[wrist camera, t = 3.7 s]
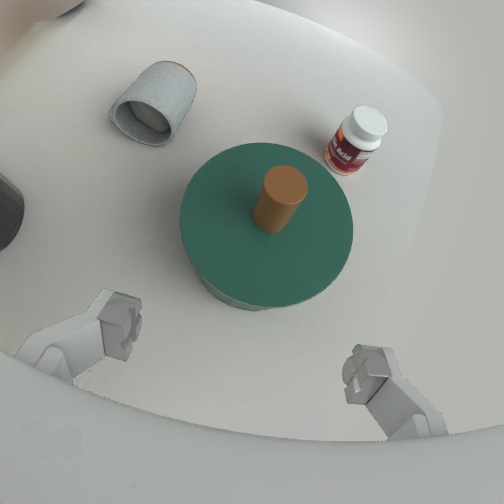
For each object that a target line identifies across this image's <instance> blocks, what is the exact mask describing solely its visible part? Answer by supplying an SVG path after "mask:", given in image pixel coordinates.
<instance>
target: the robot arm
mask: <svg viewBox="0 0 504 504" xmlns="http://www.w3.org/2000/svg"><path fill="white" fill-rule="evenodd" d="M141 308H142V301H141V299H139V298H136V297H132V296H129V295H126V294H123V293H119V292H115V291H112V290H109V289H106V288H103V289H101V291H100V292H99V293H98V295H97V296H96V297H95V299H94V300H93V301H92V303H91V304H90V306H89V307H88V308H87V310H86V311H85V313H84V314H81V313H80V314H77V315H75V316H72V317H70V318H68V319H65V320H63V321H61V322H58V323H56V324H54V325H51V326H49V327H46V328H44V329H42V330H39V331H37V332H35V333H32V334H30V335H29V336H28V338H27V339H26V340H25V342H24V343H23V345H22V346H21V347H20V349H19V350H18V351H17V353H16V354H15V356H14V357H13V356H12V355H10V354H8V353H6V352H4V351H3V350H1V349H0V504H504V425H498V426H493V427H488V428H484V429H479V430H474V431H469V432H463V433H457V434H452V435H449V434H448V431H447V428H446V425H445V422H444V419H443V416H442V413H441V412H440V411H439V410H438V409H437V408H436V407H435V406H434V405H433V404H432V403H431V402H430V401H429V400H428V399H427V398H426V397H425V396H424V395H423V394H422V393H421V392H420V391H419V390H418V389H417V388H416V387H415V386H414V385H412V384H411V383H410V382H409V381H408V380H407V379H406V378H403V377H402V374H401V371H400V368H399V365H398V363H397V360H396V357H395V354H394V352H393V350H392V349H391V348H386V347H376V346H368V345H360V344H358V345H356V346H355V347H354V349H353V350H352V352H353V356H351V357H349V358H347V360H346V362H345V363H344V366H343V370H342V378H343V382H344V383H345V384H346V385H347V387H346V389H345V395H346V401H347V403H348V404H361V405H366V408H367V409H368V410H369V412H370V413H371V414H372V416H373V417H374V419H375V420H376V421H377V423H378V424H379V426H380V427H381V428H382V430H383V431H384V432H385V434H386V435H387V437H388V439H387V440H386V441H363V442H362V441H361V442H347V441H345V442H343V441H316V440H300V439H288V438H278V437H269V436H261V435H254V434H247V433H240V432H234V431H229V430H223V429H218V428H212V427H208V426H203V425H198V424H194V423H189V422H185V421H181V420H177V419H173V418H169V417H165V416H161V415H158V414H154V413H151V412H147V411H144V410H141V409H137V408H134V407H131V406H128V405H125V404H122V403H119V402H116V401H113V400H110V399H107V398H105V397H102V396H99V395H97V394H94V393H91V392H89V391H86V390H84V389H81V388H79V387H76V386H74V384H73V381H72V379H73V378H74V377H76V376H77V375H79V374H80V373H82V372H83V371H85V370H86V369H88V368H89V367H91V366H92V365H94V364H95V363H97V362H98V361H100V360H101V359H103V358H104V357H105V355H106V356H109V357H112V358H115V359H119V360H122V361H125V362H127V359H128V357H129V355H130V353H131V351H132V342H134V341H136V340H137V338H138V336H139V333H140V329H141V323H142V316H141V315H140V313H139V312H140V310H141Z"/></svg>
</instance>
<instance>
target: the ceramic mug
mask: <svg viewBox="0 0 504 504" xmlns="http://www.w3.org/2000/svg"><path fill="white" fill-rule="evenodd" d="M196 90H197V85H196V80H195V78H194V76H193V75H192V73H191V72H190V71H189V70H188V69H187V68H185V67H184V66H182V65H181V64H178V63H176V62H172V61H160V62H157V63H154V64H153V65H151V66H150V67H148V68H147V69H146V70H145V71H143V72H142V73H141V75H140V76H139V77H138V78H137V79H136V81H135V82H134V83H133V84H132V85H131V86H130V87H129V88H128V90H127V91H126V92H125V93H124V94H123V95H122V96H121V97H120V98H119V99H118V100H117V101H116V102H115V103H114V104H113V106H112V107H111V109H110V111H109V116H110V118H111V119H112V121H113V122H114V123H115V124H116V125H118V127H119V128H120V129H121V130H122V131H123V132H124V133H125V134H126V135H128V136H129V137H131V138H132V139H134V140H136V141H138V142H141V143H144V144H148V145H153V146H160V145H164V144H166V143H168V142H170V141H171V140H172V139H173V137H174V135H175V133H176V131H177V129H178V127H179V126H180V124H181V122H182V120H183V118H184V116H185V114H186V112H187V110H188V109H189V107H190V105H191V104H192V102H193V100H194V97H195V94H196Z"/></svg>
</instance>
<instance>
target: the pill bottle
mask: <svg viewBox="0 0 504 504" xmlns="http://www.w3.org/2000/svg"><path fill="white" fill-rule="evenodd" d="M386 130H387V123H386V120H385V119H384V117H383V116H382V115H381V114H380V113H379V112H378V111H377V110H375V109H374V108H372V107H369V106H365V105H360V106H357V107H356V108H355V109H354V110H353V111H352V113H351V114H350V116H348V117H346V118H345V119H344V120H343V121H342V123H341V125H340V127H339V128H338V130H337V132H336V133H335V135H334V137H333V138H332V140H331V142H330V143H329V145H328V147H327V148H326V151H325V158H326V161H327V163H328V165H329V166H330V167H331V169H333V170H334V171H335V172H337V173H339V174H342V175H352V174H354V173H356V172H357V171H358V170H359V169H360V168H361V166H362V165H363V164H364V163H365V162H366V160H367V159H368V158H369V157H370V156H371V155H372V154H373V152H374V151H375V150H376V149H377V148H378V147H379V145H380V142H381V138H382V136H383V135H384V134H385V132H386Z"/></svg>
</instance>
